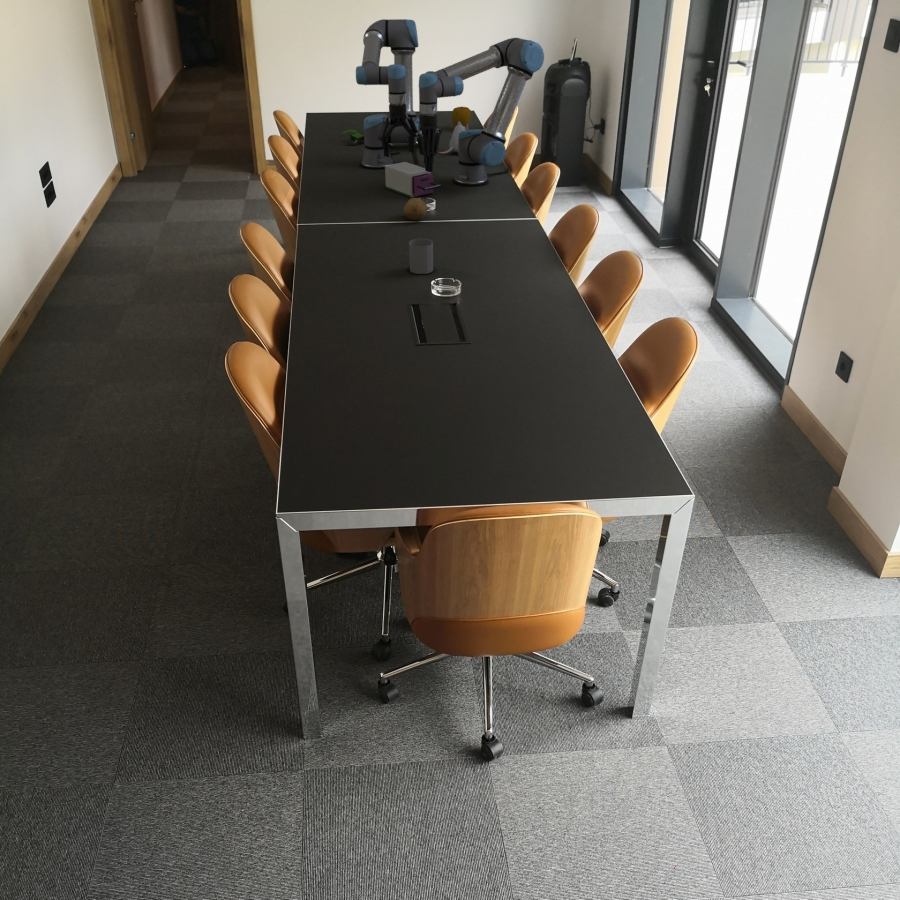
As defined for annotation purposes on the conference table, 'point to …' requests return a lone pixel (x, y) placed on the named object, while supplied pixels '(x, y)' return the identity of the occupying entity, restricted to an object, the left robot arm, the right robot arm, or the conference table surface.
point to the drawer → (423, 184)
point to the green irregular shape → (354, 137)
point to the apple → (461, 116)
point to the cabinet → (402, 177)
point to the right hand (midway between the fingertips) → (429, 171)
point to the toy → (455, 139)
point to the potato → (415, 209)
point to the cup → (421, 256)
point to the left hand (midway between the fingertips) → (399, 154)
